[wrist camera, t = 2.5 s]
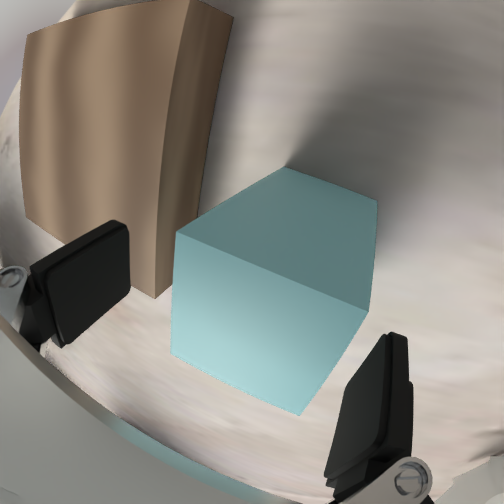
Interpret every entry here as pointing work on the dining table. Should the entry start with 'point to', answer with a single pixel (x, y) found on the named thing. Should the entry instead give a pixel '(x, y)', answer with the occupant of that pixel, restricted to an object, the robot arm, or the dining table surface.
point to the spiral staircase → (478, 485)
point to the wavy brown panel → (121, 125)
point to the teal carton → (274, 286)
